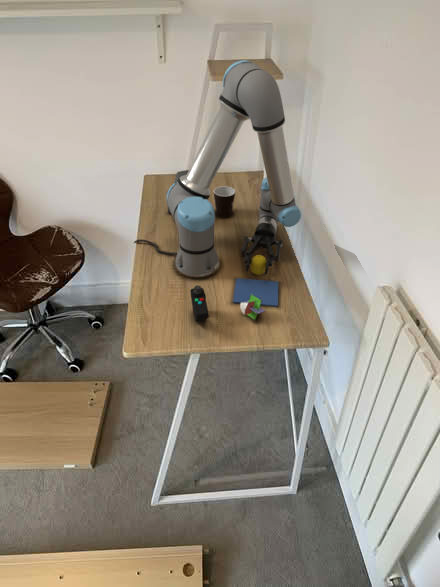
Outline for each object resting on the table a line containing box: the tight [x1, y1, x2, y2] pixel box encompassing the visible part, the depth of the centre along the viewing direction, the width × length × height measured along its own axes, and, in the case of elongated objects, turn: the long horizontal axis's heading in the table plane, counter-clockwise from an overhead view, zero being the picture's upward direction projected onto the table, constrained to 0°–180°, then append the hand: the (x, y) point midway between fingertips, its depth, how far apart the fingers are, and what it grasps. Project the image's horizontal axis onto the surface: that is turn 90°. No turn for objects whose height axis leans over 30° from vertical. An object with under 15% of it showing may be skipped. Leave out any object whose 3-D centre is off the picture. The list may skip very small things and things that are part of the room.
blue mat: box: [232, 277, 279, 308], centre depth 140 cm, size 14×12×1 cm
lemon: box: [249, 254, 267, 276], centre depth 145 cm, size 6×6×8 cm
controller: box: [190, 285, 210, 324], centre depth 127 cm, size 4×12×10 cm, turn 10°
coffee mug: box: [213, 185, 236, 218], centre depth 176 cm, size 12×9×10 cm
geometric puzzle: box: [239, 294, 266, 321], centre depth 130 cm, size 7×7×8 cm
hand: (256, 269), depth 139 cm, fingers closed on lemon, 5 cm apart
